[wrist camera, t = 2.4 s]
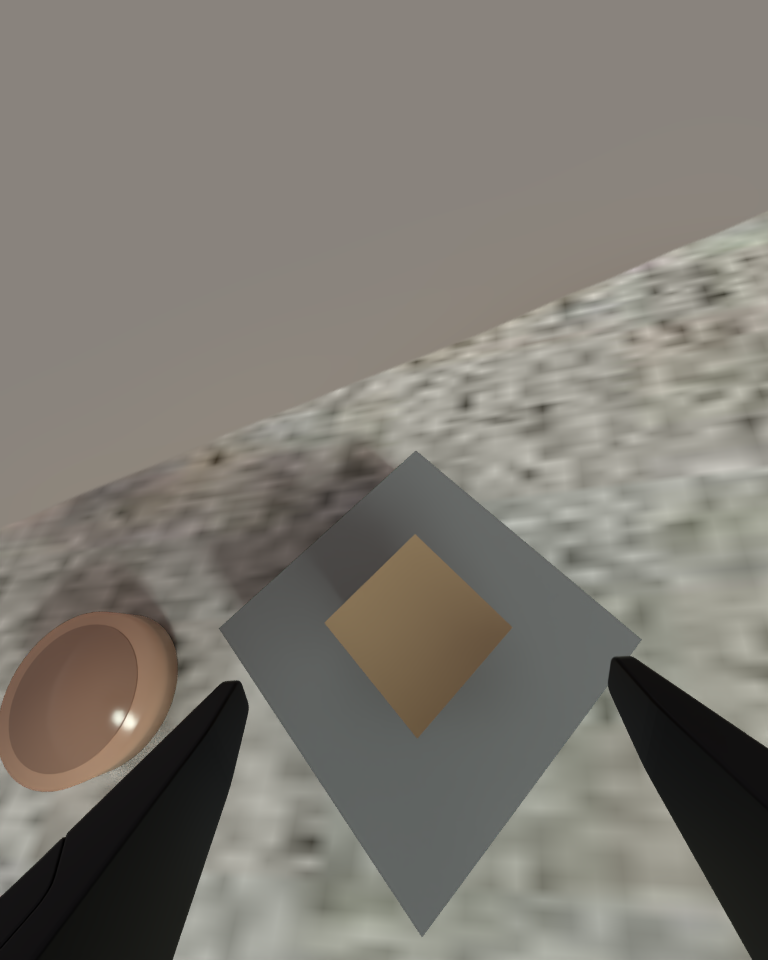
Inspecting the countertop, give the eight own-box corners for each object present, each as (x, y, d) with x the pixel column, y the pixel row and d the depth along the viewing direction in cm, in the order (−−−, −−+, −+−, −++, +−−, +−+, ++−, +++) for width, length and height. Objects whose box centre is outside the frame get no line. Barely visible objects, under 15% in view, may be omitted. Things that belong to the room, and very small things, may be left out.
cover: (421, 858, 15) (423, 1350, 4) (260, 631, 19) (74, 616, 9) (591, 640, 18) (835, 635, 7) (416, 485, 22) (413, 344, 12)
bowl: (86, 808, 17) (23, 839, 14) (37, 682, 19) (-24, 688, 16) (211, 690, 18) (176, 698, 16) (150, 589, 21) (111, 581, 18)
